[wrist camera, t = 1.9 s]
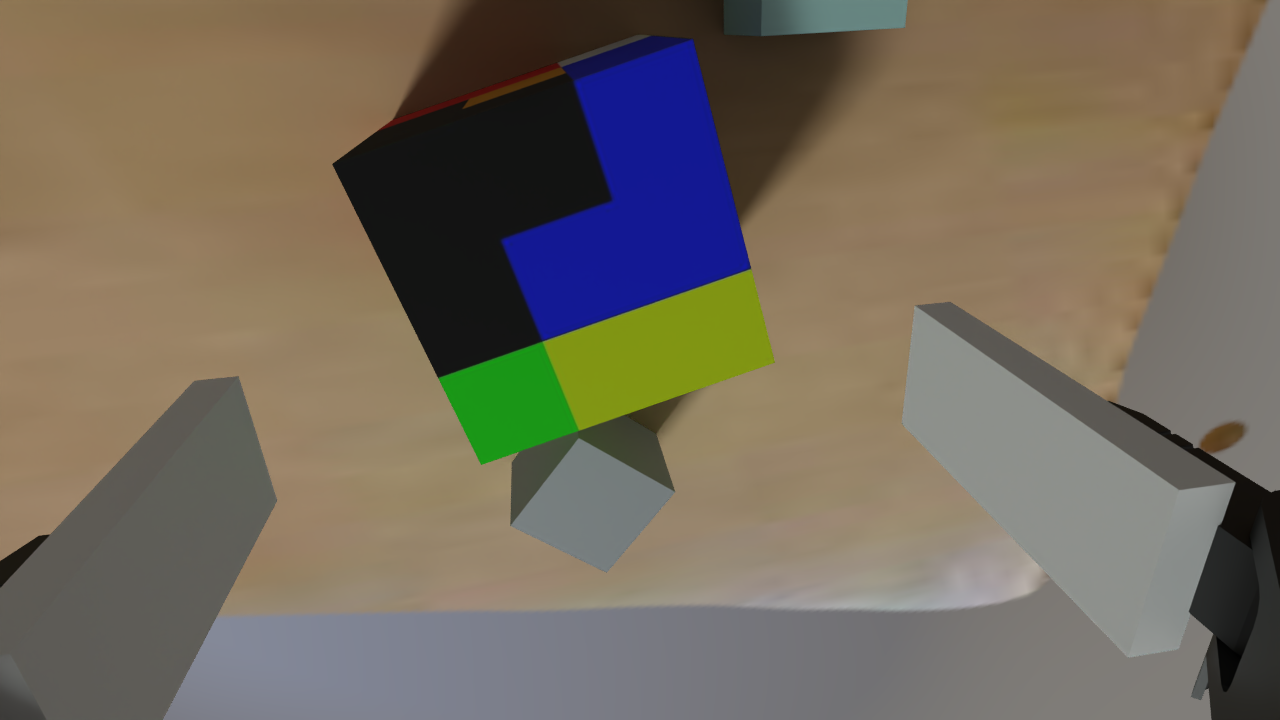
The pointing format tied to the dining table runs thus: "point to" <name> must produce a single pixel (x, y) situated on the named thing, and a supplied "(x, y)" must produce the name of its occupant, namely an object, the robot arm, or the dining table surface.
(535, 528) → the slate grey cube
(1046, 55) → the dining table surface
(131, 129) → the dining table surface
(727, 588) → the dining table surface
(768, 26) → the dusty teal cube
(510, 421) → the puzzle toy
